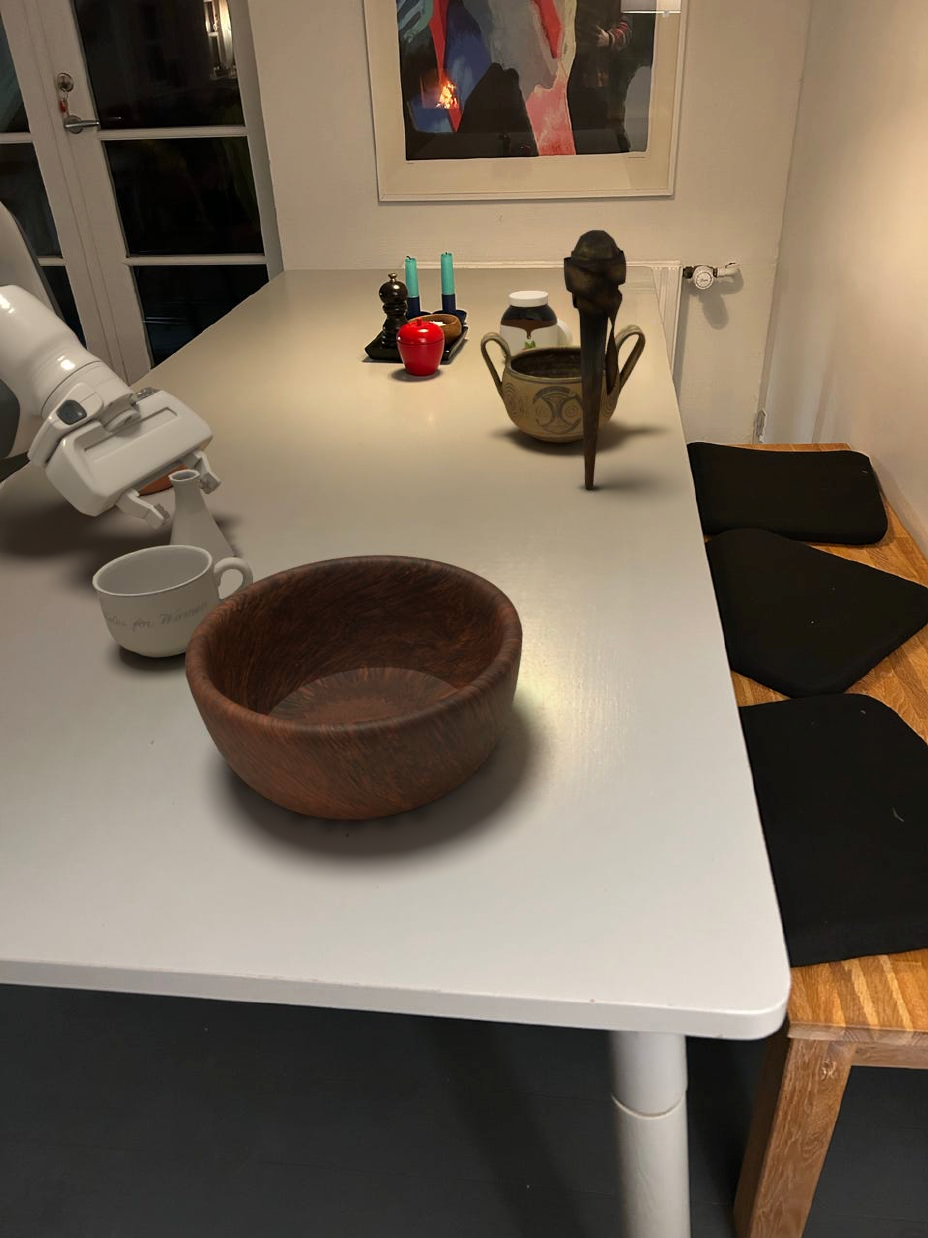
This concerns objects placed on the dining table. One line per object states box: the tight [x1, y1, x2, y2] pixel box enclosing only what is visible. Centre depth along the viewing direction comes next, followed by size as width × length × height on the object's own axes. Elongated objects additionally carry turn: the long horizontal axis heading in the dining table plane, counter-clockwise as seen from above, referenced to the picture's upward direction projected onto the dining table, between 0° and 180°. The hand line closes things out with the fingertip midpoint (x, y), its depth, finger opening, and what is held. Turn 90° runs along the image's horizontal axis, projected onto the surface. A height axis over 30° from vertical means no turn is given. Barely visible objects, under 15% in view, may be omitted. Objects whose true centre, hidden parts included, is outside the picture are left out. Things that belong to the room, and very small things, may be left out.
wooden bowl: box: [184, 554, 524, 821], centre depth 71 cm, size 25×25×10 cm
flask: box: [168, 469, 236, 565], centre depth 100 cm, size 7×7×10 cm
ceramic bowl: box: [479, 324, 647, 444], centre depth 127 cm, size 22×17×15 cm
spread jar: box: [499, 290, 574, 360], centre depth 163 cm, size 12×11×12 cm
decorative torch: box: [563, 229, 627, 489], centre depth 107 cm, size 7×7×30 cm
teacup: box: [92, 544, 254, 658], centre depth 86 cm, size 14×11×8 cm
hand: (190, 505), depth 99 cm, fingers open, 8 cm apart
